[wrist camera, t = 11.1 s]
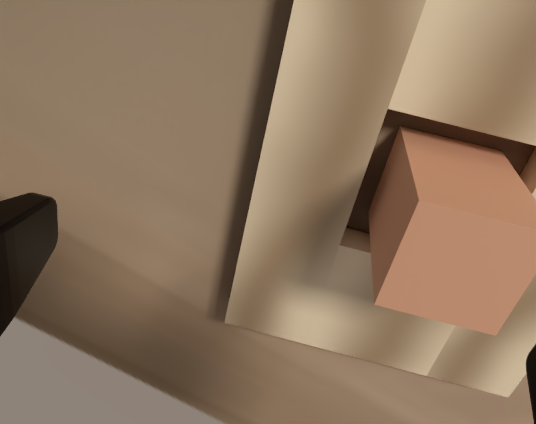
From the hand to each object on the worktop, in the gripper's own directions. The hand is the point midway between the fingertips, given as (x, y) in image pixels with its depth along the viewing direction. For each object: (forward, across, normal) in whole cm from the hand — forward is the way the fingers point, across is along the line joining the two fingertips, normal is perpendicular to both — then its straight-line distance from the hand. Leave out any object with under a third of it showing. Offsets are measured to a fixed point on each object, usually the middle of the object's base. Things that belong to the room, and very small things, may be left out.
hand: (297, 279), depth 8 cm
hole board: (+11, -5, +2) cm, 13 cm away
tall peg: (+11, -5, +2) cm, 13 cm away
